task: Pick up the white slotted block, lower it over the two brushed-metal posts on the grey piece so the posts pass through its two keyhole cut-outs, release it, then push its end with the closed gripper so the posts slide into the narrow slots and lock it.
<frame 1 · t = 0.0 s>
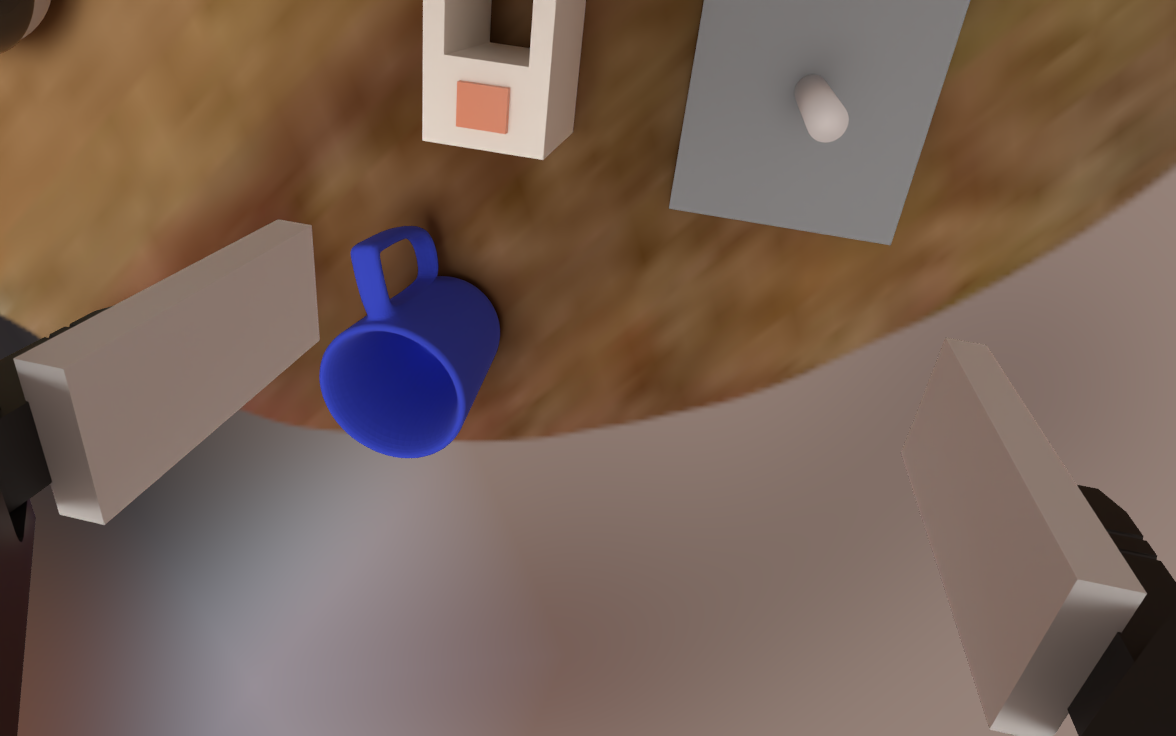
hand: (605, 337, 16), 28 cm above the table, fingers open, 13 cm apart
mug: (449, 290, 48), on the table
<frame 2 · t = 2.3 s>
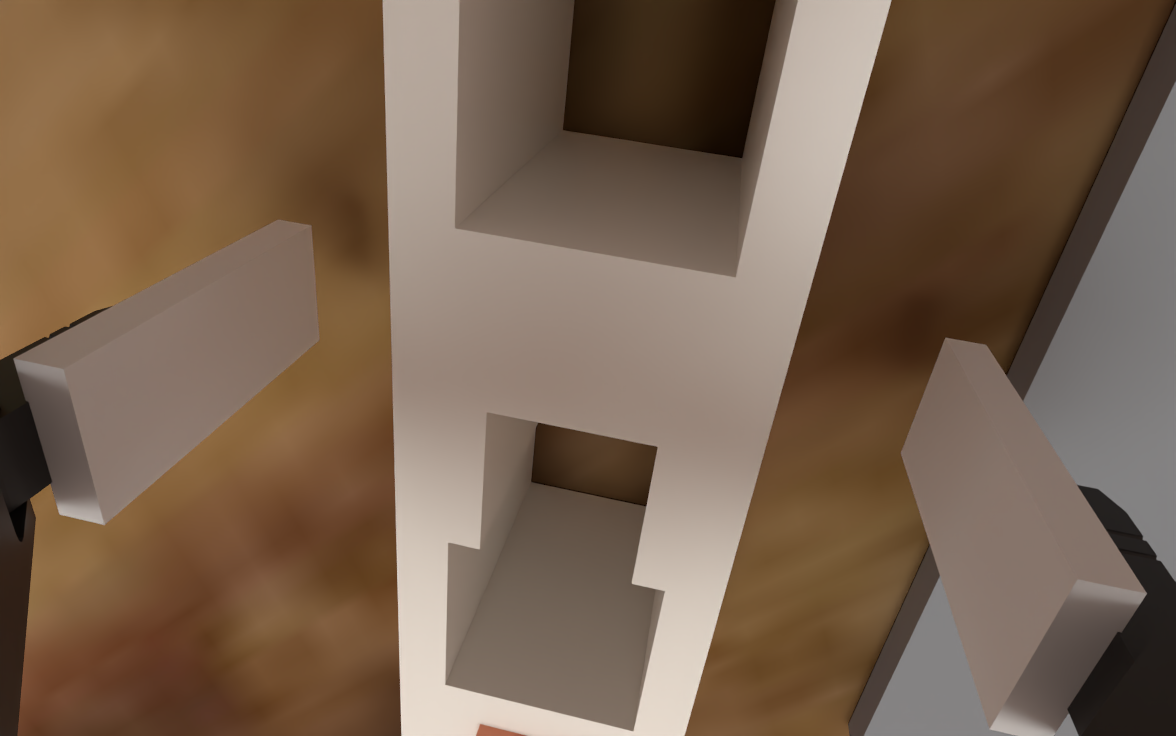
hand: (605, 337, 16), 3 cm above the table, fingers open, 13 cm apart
white slotted block: (632, 270, 18), on the table
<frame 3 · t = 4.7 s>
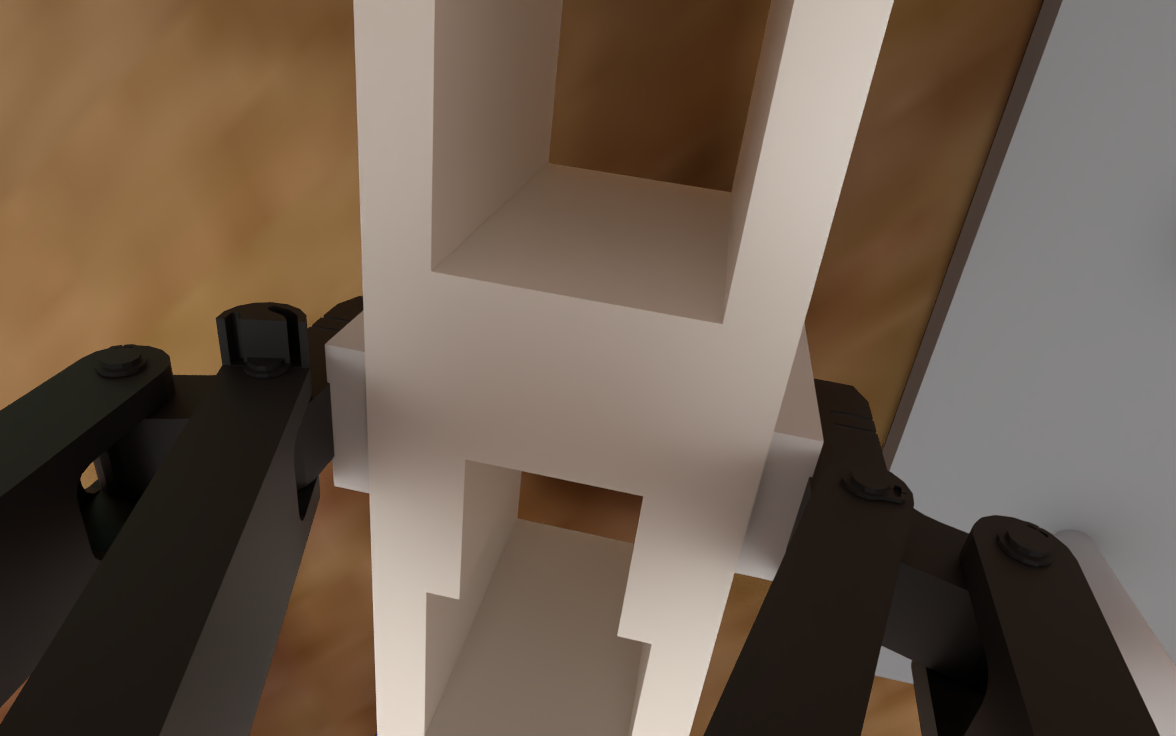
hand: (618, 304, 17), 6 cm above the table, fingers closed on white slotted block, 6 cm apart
white slotted block: (620, 304, 18), point 6 cm above the table, touching gripper
grey piece: (1118, 396, 22), on the table
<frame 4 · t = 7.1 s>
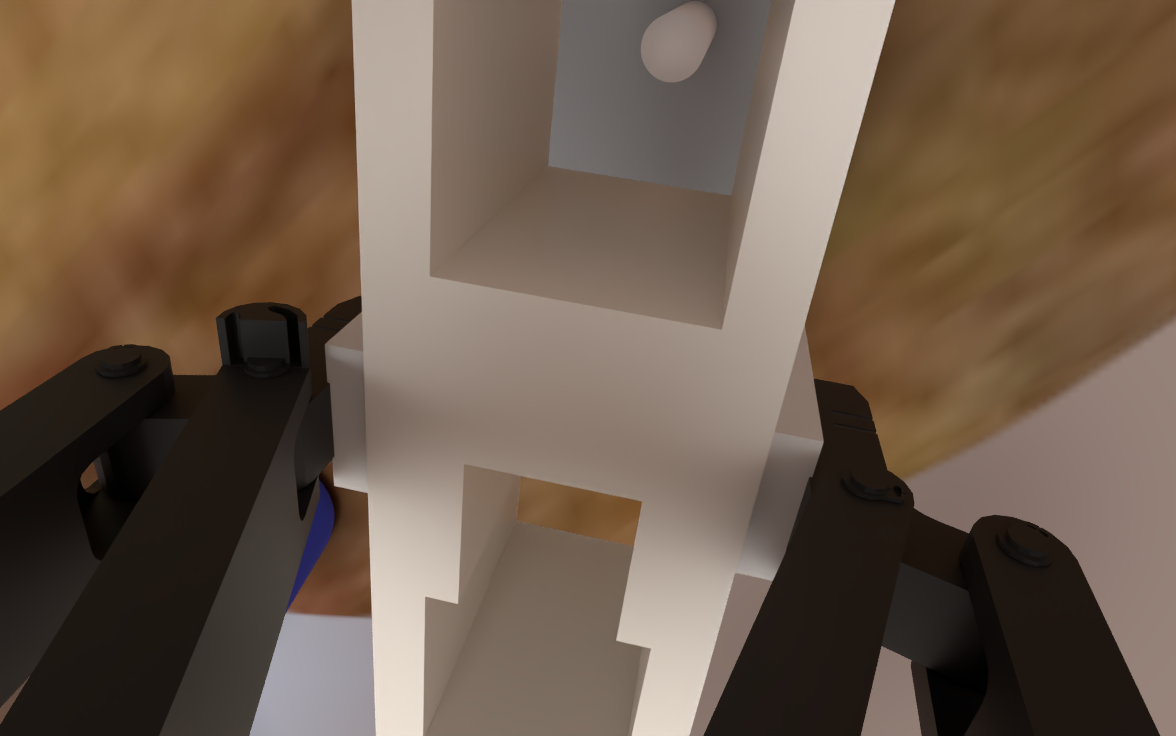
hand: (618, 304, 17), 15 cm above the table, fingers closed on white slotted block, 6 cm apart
mug: (277, 465, 42), on the table
white slotted block: (619, 307, 17), point 14 cm above the table, touching gripper
grey piece: (673, 160, 30), on the table
when the fingers open (2 cm above the table, at t = 9.6 s): white slotted block stays where it is, resting on grey piece.
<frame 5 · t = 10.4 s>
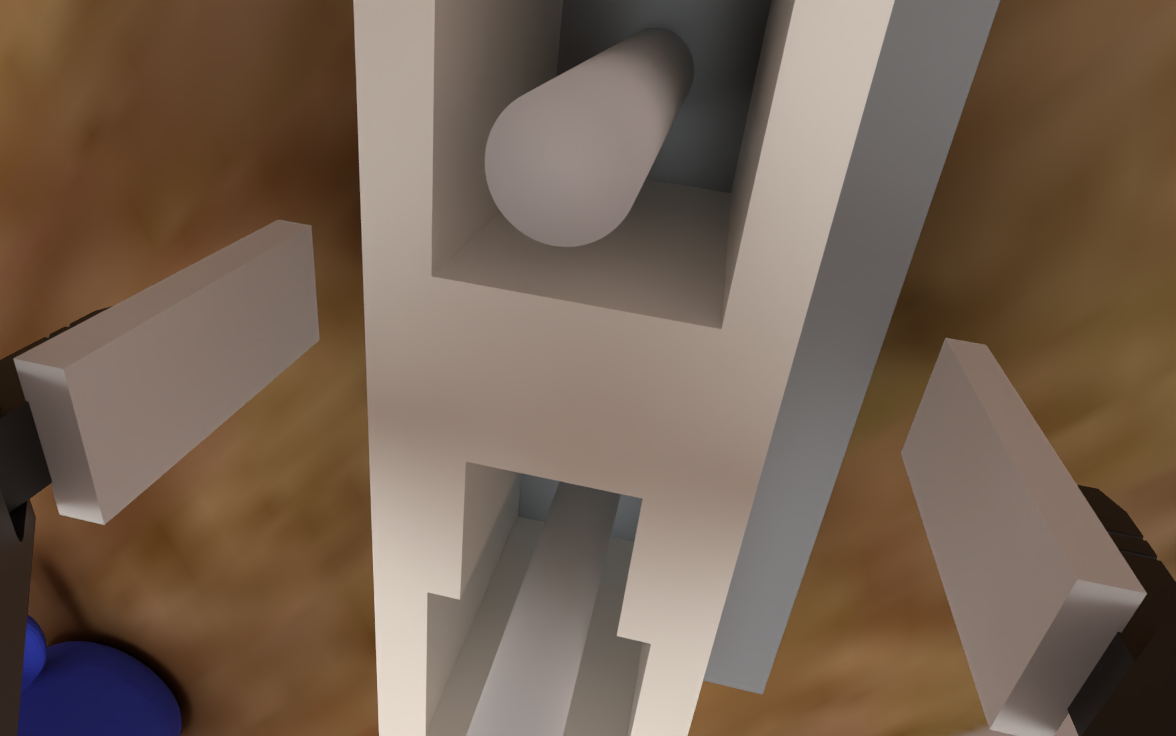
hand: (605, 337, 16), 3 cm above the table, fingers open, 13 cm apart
mug: (103, 650, 30), on the table
white slotted block: (620, 304, 18), point 1 cm above the table, touching grey piece
grey piece: (628, 279, 19), on the table
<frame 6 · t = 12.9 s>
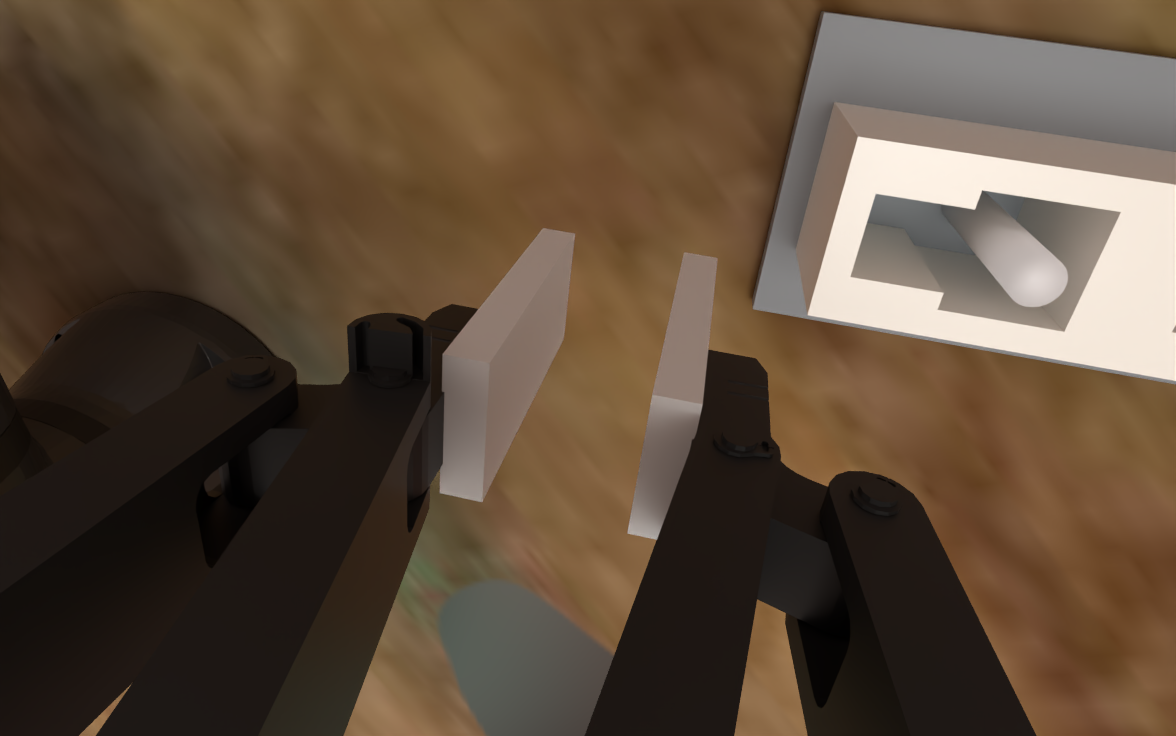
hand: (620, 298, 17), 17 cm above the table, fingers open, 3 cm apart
white slotted block: (1100, 224, 29), point 1 cm above the table, touching grey piece
grey piece: (1083, 215, 30), on the table
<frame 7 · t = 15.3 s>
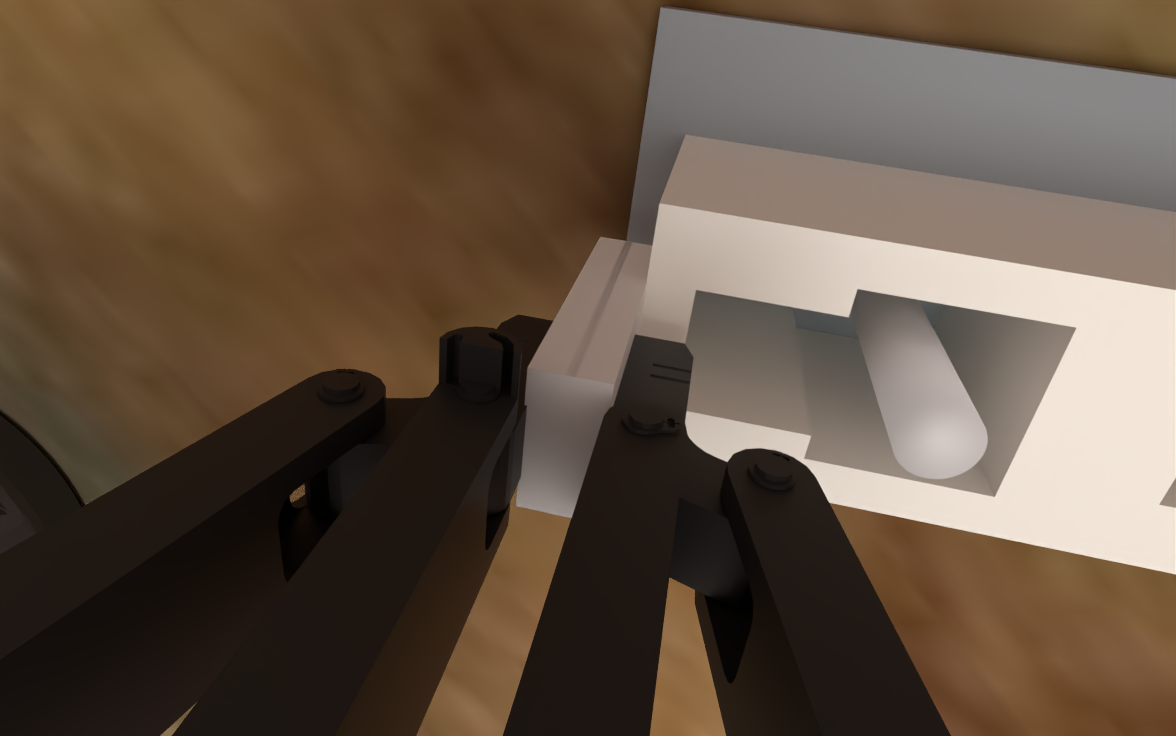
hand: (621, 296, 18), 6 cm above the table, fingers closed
white slotted block: (1061, 307, 21), point 1 cm above the table, touching gripper, grey piece
grey piece: (1040, 290, 22), on the table
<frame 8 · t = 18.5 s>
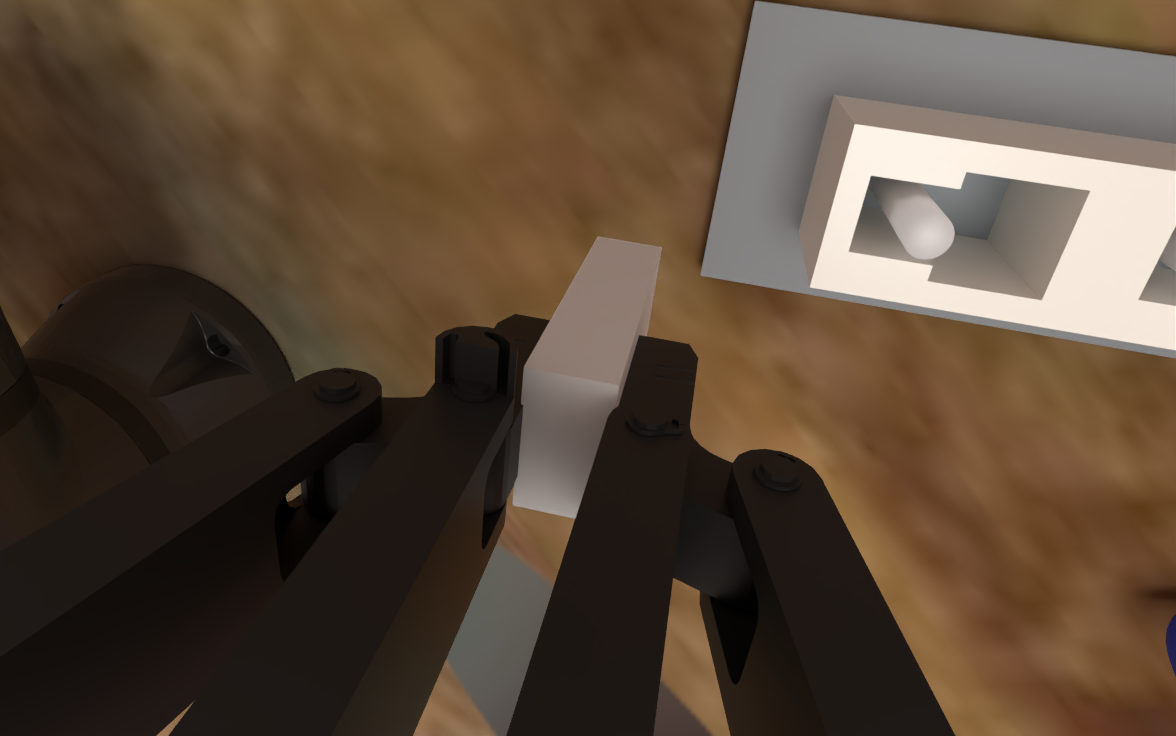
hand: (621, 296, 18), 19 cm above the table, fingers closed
white slotted block: (1078, 206, 32), point 1 cm above the table, touching grey piece
grey piece: (997, 186, 33), on the table
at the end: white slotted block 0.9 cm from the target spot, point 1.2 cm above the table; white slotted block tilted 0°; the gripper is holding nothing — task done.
